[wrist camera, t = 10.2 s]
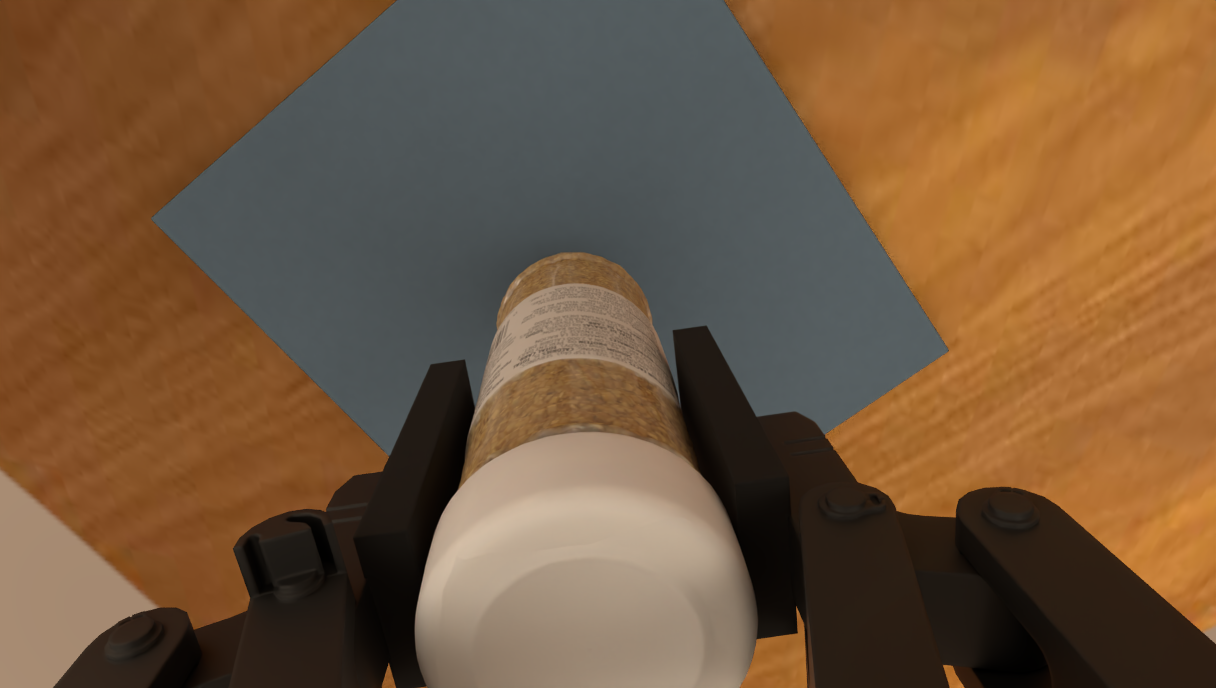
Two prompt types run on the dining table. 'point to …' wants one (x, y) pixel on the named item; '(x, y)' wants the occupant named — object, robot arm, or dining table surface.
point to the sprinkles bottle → (582, 510)
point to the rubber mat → (549, 204)
